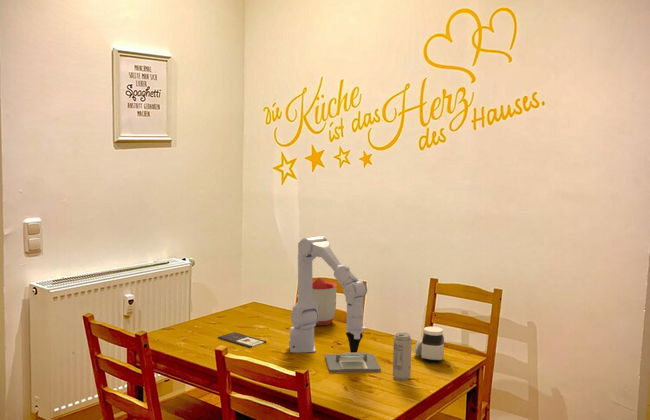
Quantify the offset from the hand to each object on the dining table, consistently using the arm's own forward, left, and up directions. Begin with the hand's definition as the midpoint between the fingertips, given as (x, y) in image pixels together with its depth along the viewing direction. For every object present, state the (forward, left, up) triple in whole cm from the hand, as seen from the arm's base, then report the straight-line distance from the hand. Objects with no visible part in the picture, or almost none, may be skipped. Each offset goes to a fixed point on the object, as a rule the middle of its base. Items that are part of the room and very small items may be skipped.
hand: (353, 352), depth 231 cm
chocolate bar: (-40, +33, -6) cm, 52 cm away
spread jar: (+29, +9, -6) cm, 31 cm away
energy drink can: (+15, -10, -6) cm, 19 cm away
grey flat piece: (0, +4, -5) cm, 6 cm away
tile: (0, +2, -1) cm, 2 cm away
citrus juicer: (-8, +57, -6) cm, 58 cm away
